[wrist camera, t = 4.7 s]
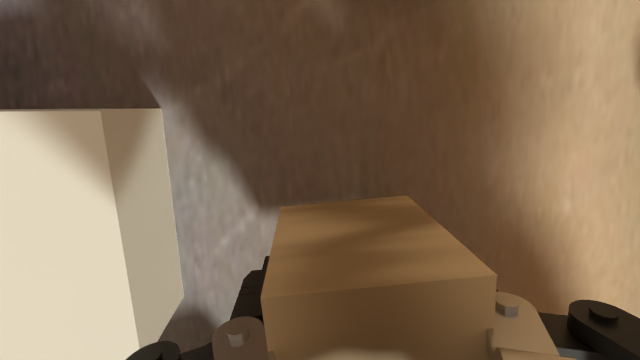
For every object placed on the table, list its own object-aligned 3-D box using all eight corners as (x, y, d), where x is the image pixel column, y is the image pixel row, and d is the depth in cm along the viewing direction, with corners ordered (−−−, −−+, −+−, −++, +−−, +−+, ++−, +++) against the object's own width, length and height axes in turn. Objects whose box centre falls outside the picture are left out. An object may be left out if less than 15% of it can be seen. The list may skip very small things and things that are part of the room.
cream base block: (163, 108, 15) (100, 111, 10) (185, 293, 18) (142, 366, 13) (-61, 109, 15) (-241, 112, 10) (-6, 301, 17) (-129, 381, 12)
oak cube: (407, 195, 13) (497, 275, 7) (408, 305, 14) (486, 454, 8) (280, 206, 12) (260, 298, 7) (293, 316, 14) (285, 477, 8)
